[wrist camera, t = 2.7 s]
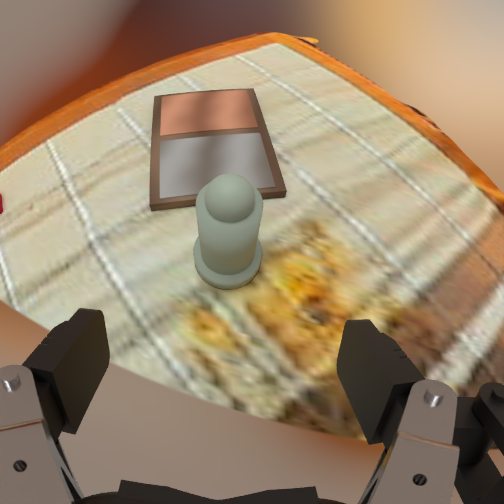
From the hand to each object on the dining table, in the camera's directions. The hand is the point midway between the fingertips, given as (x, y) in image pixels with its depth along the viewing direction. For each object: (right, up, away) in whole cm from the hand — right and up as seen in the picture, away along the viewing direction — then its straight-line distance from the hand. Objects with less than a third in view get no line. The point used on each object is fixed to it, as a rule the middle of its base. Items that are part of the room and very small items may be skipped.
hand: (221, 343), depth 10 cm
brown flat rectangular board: (-4, +15, +25) cm, 29 cm away
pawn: (-1, +2, +18) cm, 18 cm away
